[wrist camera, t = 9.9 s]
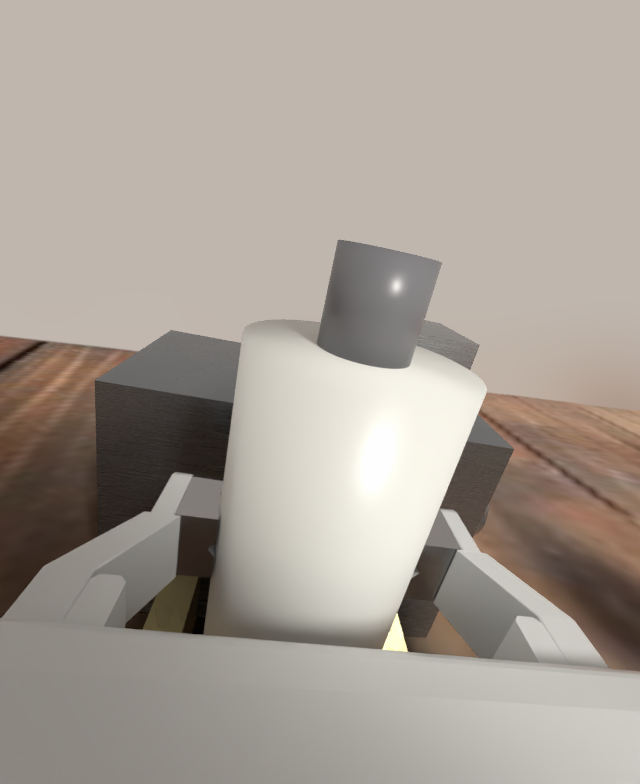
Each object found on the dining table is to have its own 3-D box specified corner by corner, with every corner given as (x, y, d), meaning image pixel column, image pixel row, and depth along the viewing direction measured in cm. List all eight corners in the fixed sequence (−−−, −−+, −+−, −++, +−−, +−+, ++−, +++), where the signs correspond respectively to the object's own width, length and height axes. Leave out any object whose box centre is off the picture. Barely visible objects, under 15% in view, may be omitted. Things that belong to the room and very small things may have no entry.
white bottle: (169, 805, 9) (233, 207, 4) (213, 618, 14) (269, 228, 9) (358, 811, 10) (610, 294, 5) (339, 629, 14) (458, 271, 9)
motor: (-24, 834, 9) (-180, 322, 4) (161, 496, 21) (174, 266, 16) (549, 841, 11) (872, 498, 6) (418, 529, 23) (495, 332, 18)
